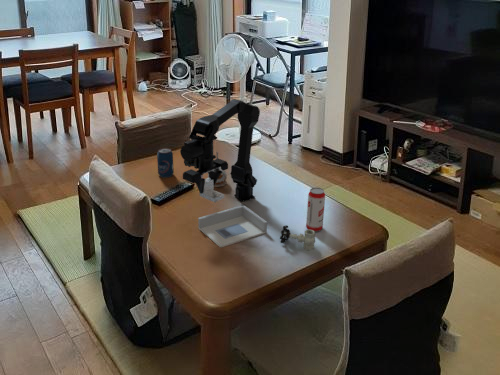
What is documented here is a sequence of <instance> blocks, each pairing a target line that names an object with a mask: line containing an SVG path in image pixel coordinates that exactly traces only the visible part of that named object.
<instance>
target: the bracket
mask: <svg viewBox="0 0 500 375" xmlns="http://www.w3.org/2000/svg"><path fill="white" fill-rule="evenodd" d="M204 179H205V184H204V190H203V193H202V194H201V193H200V192H199V196H200V197H201V198H203V199H205V200H208V201H210V202H213V203H217V202H218V201H222V200H223V199H225V194H224V193H222V192H219V191H217V190H214V189H215V188H214V187H215V186H214V180H213V179H211V178H208V177H207V178H204Z"/></svg>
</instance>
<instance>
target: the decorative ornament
mask: <svg viewBox="0 0 500 375" xmlns="http://www.w3.org/2000/svg"><path fill="white" fill-rule="evenodd" d="M215 156H216V159H219V152H218V151H216V155H215ZM219 169H220V171H222V173H221V174H220V176H219V178H218V179H217V181H216V183H215V185H214V187H217V188H218V187H224V186H225V185H227V179H228V173H227V172H226V170H224V171H223V170H221V167H219ZM207 178H209V174H208V173H207Z"/></svg>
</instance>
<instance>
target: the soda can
mask: <svg viewBox="0 0 500 375" xmlns="http://www.w3.org/2000/svg"><path fill="white" fill-rule="evenodd" d="M156 158H157V162H156V163H157V174H158V175H159V177H160V178H165V179H166V178H172V176H173V175H174V173H175V172H174V153H173V151H172V149H171V148H169V147H161V148H159V149H158V150H157V154H156Z"/></svg>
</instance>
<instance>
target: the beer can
mask: <svg viewBox="0 0 500 375" xmlns="http://www.w3.org/2000/svg"><path fill="white" fill-rule="evenodd" d="M309 189H310V190H309V192H308V195H307V206H306V207H307V210H306V224H305V228H306V230H313V231H314V232H315V233H318V232H320V231H322V229H323V227H324V216H325V203H326V202H325V201H326V193H325V189H324V188H321V187H311V188H309Z"/></svg>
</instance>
